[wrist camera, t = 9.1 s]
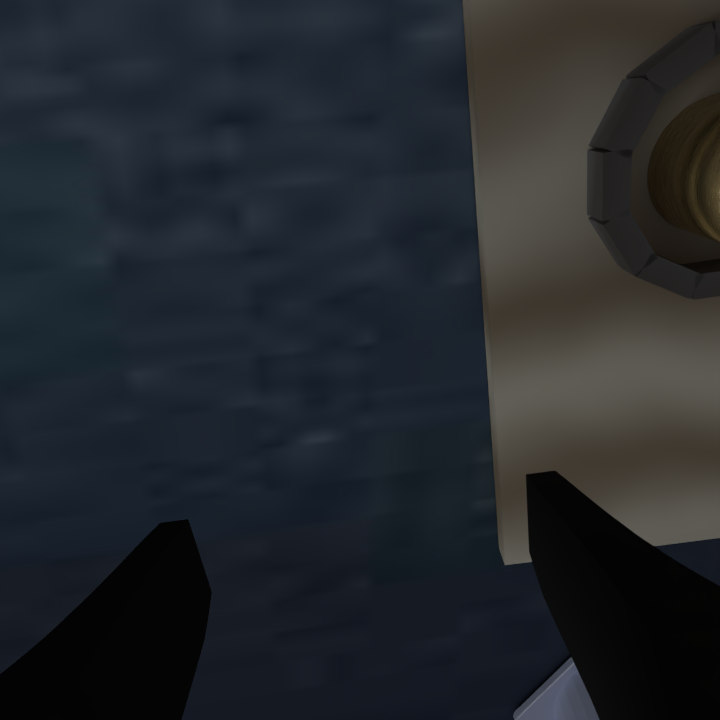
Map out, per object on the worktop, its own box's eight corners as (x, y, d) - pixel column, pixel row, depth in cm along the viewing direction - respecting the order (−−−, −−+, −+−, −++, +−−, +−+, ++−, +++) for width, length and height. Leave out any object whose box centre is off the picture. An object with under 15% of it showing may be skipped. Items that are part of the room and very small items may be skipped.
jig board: (841, 504, 24) (886, 540, 22) (499, 548, 25) (512, 587, 23) (967, -86, 16) (1056, -114, 14) (462, -3, 17) (478, -18, 15)
